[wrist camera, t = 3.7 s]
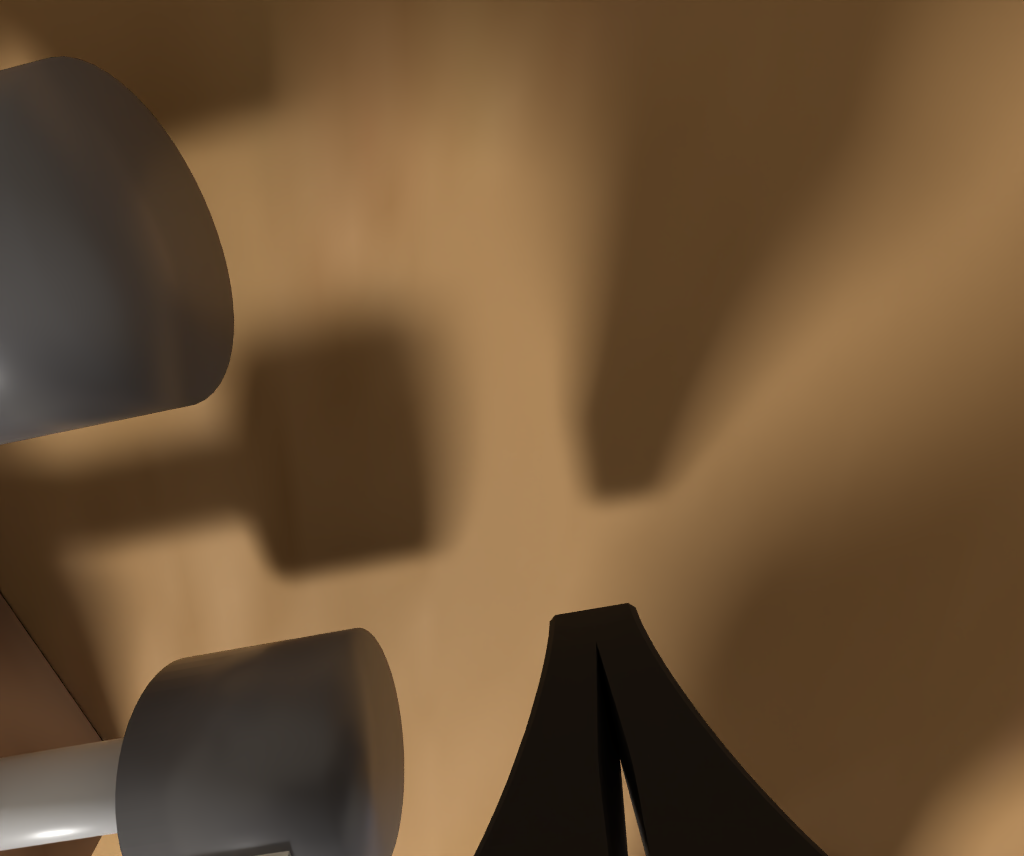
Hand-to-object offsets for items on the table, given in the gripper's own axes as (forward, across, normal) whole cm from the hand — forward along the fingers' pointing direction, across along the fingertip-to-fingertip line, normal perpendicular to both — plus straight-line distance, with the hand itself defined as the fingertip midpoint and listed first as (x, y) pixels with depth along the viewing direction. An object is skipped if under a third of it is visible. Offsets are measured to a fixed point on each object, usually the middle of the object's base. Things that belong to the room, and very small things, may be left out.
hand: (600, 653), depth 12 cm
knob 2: (+1, +8, 0) cm, 8 cm away
